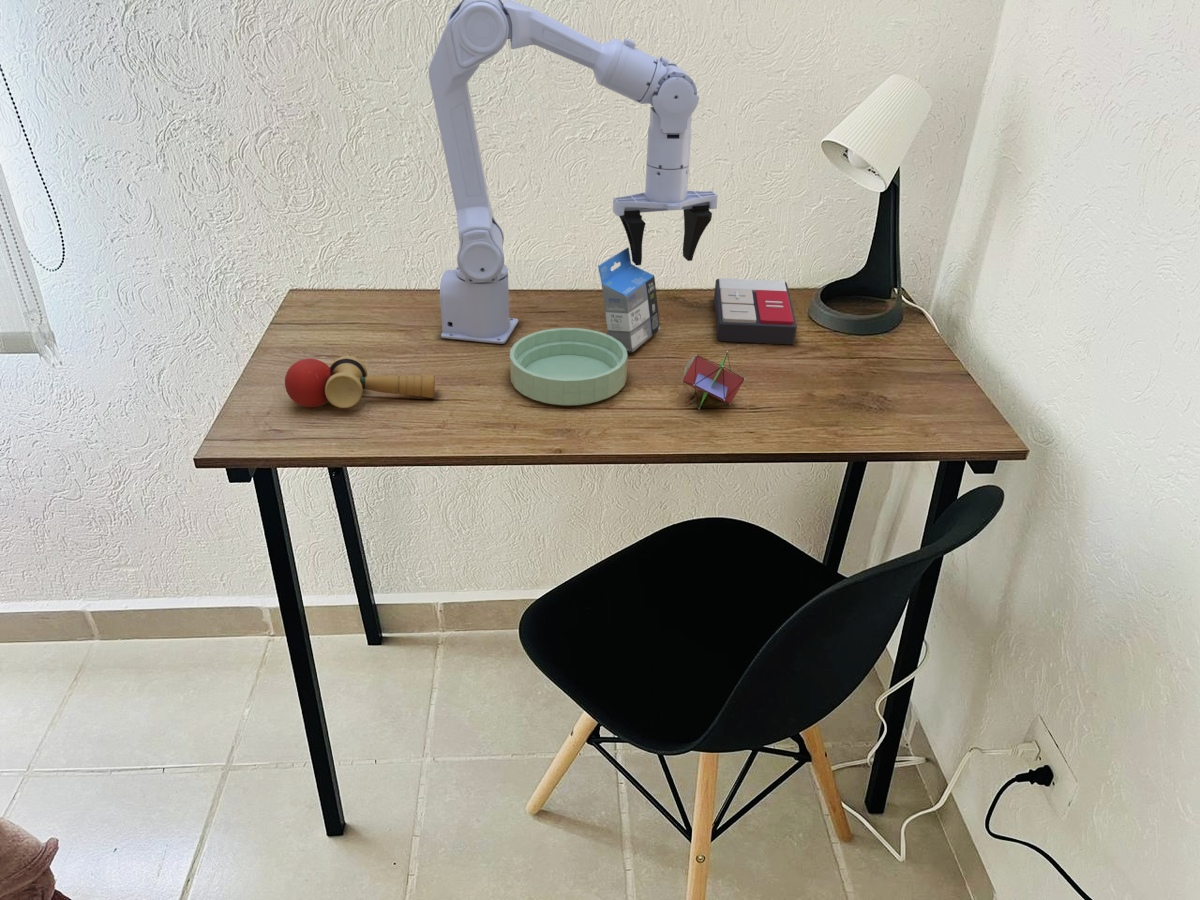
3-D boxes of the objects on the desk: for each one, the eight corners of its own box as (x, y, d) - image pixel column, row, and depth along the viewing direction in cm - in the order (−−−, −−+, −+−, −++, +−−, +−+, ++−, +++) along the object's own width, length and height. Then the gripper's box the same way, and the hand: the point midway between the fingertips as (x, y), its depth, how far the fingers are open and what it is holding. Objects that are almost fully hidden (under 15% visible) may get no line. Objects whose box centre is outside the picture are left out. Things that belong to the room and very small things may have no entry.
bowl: (497, 401, 115) (495, 373, 113) (527, 349, 128) (526, 323, 126) (615, 414, 113) (616, 386, 111) (634, 360, 126) (635, 333, 124)
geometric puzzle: (757, 380, 117) (724, 330, 114) (751, 406, 111) (716, 353, 109) (710, 404, 120) (677, 355, 118) (702, 429, 115) (667, 379, 112)
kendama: (432, 388, 121) (289, 380, 117) (435, 349, 117) (287, 339, 112) (433, 426, 115) (282, 419, 111) (436, 387, 111) (280, 379, 107)
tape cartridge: (633, 353, 126) (622, 266, 120) (608, 351, 128) (596, 266, 122) (661, 330, 133) (652, 246, 127) (638, 328, 135) (627, 246, 129)
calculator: (719, 318, 129) (716, 273, 141) (717, 345, 132) (713, 299, 144) (798, 322, 129) (787, 276, 141) (793, 348, 131) (783, 302, 143)
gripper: (624, 175, 117) (621, 275, 125) (729, 168, 121) (720, 266, 128) (609, 160, 123) (607, 257, 130) (709, 154, 127) (702, 249, 134)
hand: (662, 260), depth 130 cm, fingers open, 7 cm apart
